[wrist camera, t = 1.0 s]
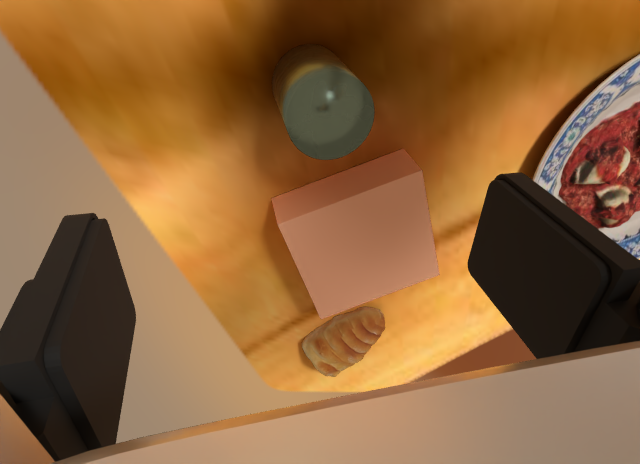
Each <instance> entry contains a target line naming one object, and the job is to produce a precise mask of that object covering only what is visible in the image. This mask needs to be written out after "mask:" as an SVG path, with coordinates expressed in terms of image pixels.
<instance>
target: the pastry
mask: <svg viewBox="0 0 640 464" xmlns="http://www.w3.org/2000/svg"><path fill="white" fill-rule="evenodd" d="M384 329H385V320H384V315H383V313H382V312H381V311H380V310H378V309H375V308H371V307H360V308H358V309H356V310H354V311H352V312H348V313H345V314H341V315H337V316H335V317H333V318H332V320H330V321H328V322H326V323H325V324H323V325H321V326H320V327H318V328H316V329H315V330H314V331H312V332H311V333H310V334H308V335H307V336H306V337H305V339H304V340H303V342H302V348H303V350H304V352H305V354H306V356H307V357H308V358H309V359H310V360H311V362H312V363H313V365H314V367H315V368H316V369H317V370H318V371H319V372H320V373H322V374H323V375H325V376H332V377H336V376H337V374H339V373H340V371H342V370H344V369H346V368H348V367H350V366H352V365H354V364H355V363H358V362H359V361H361V360H362V359H363V357H364V355H365V354H366V353H367V352H368V351H369V349H370V348H371V346H372V345H373V344H375V343H376V341H377V340H378V338H379V337H380V336H381V334H382V332H383V331H384Z"/></svg>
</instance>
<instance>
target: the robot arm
mask: <svg viewBox="0 0 640 464" xmlns="http://www.w3.org/2000/svg"><path fill="white" fill-rule="evenodd" d="M468 270H469V272H470V274H471V276H472V277H473V278H474V279H475V281H476V282H477V283H478V285H479V286H480V287H481V288H482V290H483V291H484V292H485V293H486V295H487V296H488V297H489V298H490V300H491V301H492V302H493V304H494V305H495V306H496V307H497V309H498V310H499V311H500V312H501V314H502V315H503V316H504V318H505V319H506V320H507V321H508V323H509V324H510V325H511V326H512V328H513V329H514V330H515V331H516V333H517V334H518V335H519V337H520V338H521V339H522V340H523V341H524V343H525V344H526V345H527V347H528V348H529V349H530V351H531V352H532V353H533V354H534V356H535V357H536V358H537V359H535V360H530V361H525V362H519V363H513V364H508V365H503V366H497V367H492V368H487V369H482V370H477V371H471V372H466V373H461V374H455V375H450V376H445V377H440V378H434V379H429V380H424V381H419V382H414V383H408V384H403V385H398V386H393V387H388V388H382V389H377V390H372V391H367V392H362V393H357V394H351V395H347V396H341V397H336V398H331V399H326V400H321V401H316V402H311V403H306V404H301V405H296V406H291V407H286V408H281V409H275V410H270V411H265V412H260V413H255V414H250V415H245V416H240V417H235V418H230V419H225V420H221V421H216V422H212V423H207V424H202V425H197V426H192V427H188V428H183V429H178V430H174V431H169V432H165V433H160V434H155V435H150V436H146V437H141V438H137V439H133V440H129V441H126V442H121V443H118V444H116V438H117V432H118V425H119V420H120V413H121V407H122V402H123V395H124V389H125V383H126V377H127V371H128V365H129V359H130V353H131V347H132V341H133V335H134V328H135V322H136V314H135V308H134V304H133V301H132V298H131V295H130V291H129V288H128V285H127V282H126V279H125V275H124V272H123V269H122V266H121V263H120V259H119V256H118V253H117V250H116V246H115V243H114V240H113V237H112V234H111V230H110V228H109V224H108V222H107V220H106V219H98V217H97V216H96V214H94V213H89V214H78V215H67V216H65V217H64V218H63V219H62V221H61V223H60V225H59V228H58V230H57V232H56V234H55V236H54V238H53V240H52V242H51V244H50V246H49V248H48V251H47V253H46V255H45V257H44V259H43V261H42V263H41V265H40V267H39V269H38V271H37V273H36V276H35V278H34V279H33V280H29V281H27V282H25V284H24V285H23V286H22V288H21V290H20V292H19V294H18V296H17V298H16V300H15V302H14V304H13V306H12V308H11V310H10V312H9V314H8V316H7V318H6V320H5V322H4V324H3V326H2V328H1V330H0V464H640V260H639V259H637V258H636V257H635V256H633V255H632V254H631V253H629V252H628V251H627V250H625V249H624V248H623V247H621V246H620V245H619V244H617V243H616V242H615V241H613V240H612V239H611V238H609V237H608V236H607V235H605V234H604V233H603V232H601V231H600V230H599V229H597V228H596V227H595V226H593V225H592V224H591V223H589V222H588V221H587V220H585V219H584V218H583V217H581V216H580V215H579V214H577V213H576V212H575V211H573V210H572V209H571V208H569V207H568V206H567V205H565V204H564V203H563V202H561V201H560V200H559V199H557V198H556V197H555V196H553V195H552V194H551V193H549V192H548V191H547V190H545V189H544V188H543V187H541V186H540V185H539V184H537V183H536V182H535V181H533V180H532V179H531V178H529V177H528V176H527V175H525V174H523V173H509V174H500V175H498V176H497V177H496V178H495V180H494V181H492V182H491V183H490V184H489V187H488V190H487V194H486V198H485V201H484V205H483V209H482V212H481V216H480V219H479V223H478V227H477V230H476V234H475V238H474V241H473V245H472V248H471V252H470V256H469V259H468Z"/></svg>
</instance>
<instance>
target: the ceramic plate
mask: <svg viewBox="0 0 640 464" xmlns="http://www.w3.org/2000/svg"><path fill="white" fill-rule="evenodd" d="M533 181H535V182H536V183H537V184H539V185H540V186H541V187H543V188H544V189H545V190H547V191H548V192H549V193H551V194H552V195H553V196H555V197H556V198H557V199H559V200H560V201H561V202H563V203H564V204H565V205H567V206H568V207H569V208H571V209H572V210H573V211H575V212H576V213H577V214H579V215H580V216H581V217H583V218H584V219H585V220H587V221H588V222H589V223H591V224H592V225H593V226H595V227H596V228H597V229H599V230H600V231H601V232H603V233H604V234H605V235H607V236H608V237H609V238H611V239H612V240H613V241H615V242H616V243H617V244H619V245H620V246H621V247H623V248H624V249H625V250H627V251H628V252H629V253H631V254H632V255H633V256H635V257H636V258H637V259H640V54H639V55H638V56H636V57H635V58H633V59H632V60H630V61H629V62H627V63H626V64H624V65H623V66H622V67H620V68H619V69H618V70H616V71H615V72H614V73H612V74H611V75H610V76H609V77H608V78H607V79H605V80H604V81H603V82H602V83H601V84H600V85H598V86H597V87H596V88H595V89H594V90H593V91H592V92H591V93H590V94H589V95H588V96H587V97H586V98H585V99H584V100H583V101H582V103H581V104H580V105H579V106H578V107H577V108H576V109H575V110H574V111H573V113H572V114H571V115H570V116H569V118H568V119H567V120H566V121H565V123H564V124H563V125H562V127H561V128H560V129H559V131H558V132H557V134H556V135H555V136H554V138H553V140H552V141H551V143H550V144H549V146H548V148H547V149H546V151H545V153H544V155H543V157H542V159H541V161H540V163H539V165H538V167H537V170H536V172H535V174H534V177H533Z"/></svg>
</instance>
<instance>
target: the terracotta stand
mask: <svg viewBox="0 0 640 464" xmlns="http://www.w3.org/2000/svg"><path fill="white" fill-rule="evenodd" d="M271 199H272V203H273V208H274V212H275V216H276V220H277V224H278V227H279V229H280V231H281V233H282V235H283V238H284V240H285V242H286V244H287V246H288V249H289V251H290V253H291V255H292V257H293V259H294V262H295V264H296V266H297V268H298V270H299V273H300V275H301V277H302V279H303V281H304V283H305V286H306V288H307V290H308V292H309V294H310V297H311V299H312V301H313V303H314V305H315V308H316V310H317V312H318V314H319V316H320V318H321V319H323V318H326V317H329V316H331V315H334V314H337V313H339V312H342V311H345V310H347V309H350V308H353V307H355V306H358V305H361V304H363V303H366V302H369V301H371V300H374V299H377V298H379V297H382V296H385V295H387V294H390V293H393V292H395V291H398V290H401V289H403V288H406V287H409V286H411V285H414V284H417V283H419V282H422V281H425V280H427V279H430V278H433V277H435V276H438V275H439V269H438V263H437V257H436V251H435V245H434V238H433V232H432V226H431V220H430V214H429V208H428V202H427V196H426V190H425V184H424V178H423V172H422V169H421V168H420V167H419V166H418V165H417V164H416V162H415V161H414V160H413V159H412V158H411V157H410V156H409V154H408V153H407V152H406V151H405V150H404V149H400V150H398V151H395V152H393V153H390V154H387V155H385V156H382V157H379V158H377V159H374V160H371V161H369V162H366V163H363V164H361V165H358V166H355V167H353V168H350V169H348V170H345V171H342V172H340V173H337V174H334V175H332V176H329V177H326V178H324V179H321V180H318V181H316V182H313V183H310V184H308V185H305V186H303V187H300V188H297V189H295V190H292V191H289V192H287V193H284V194H281V195H279V196H276V197H273V198H271Z"/></svg>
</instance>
